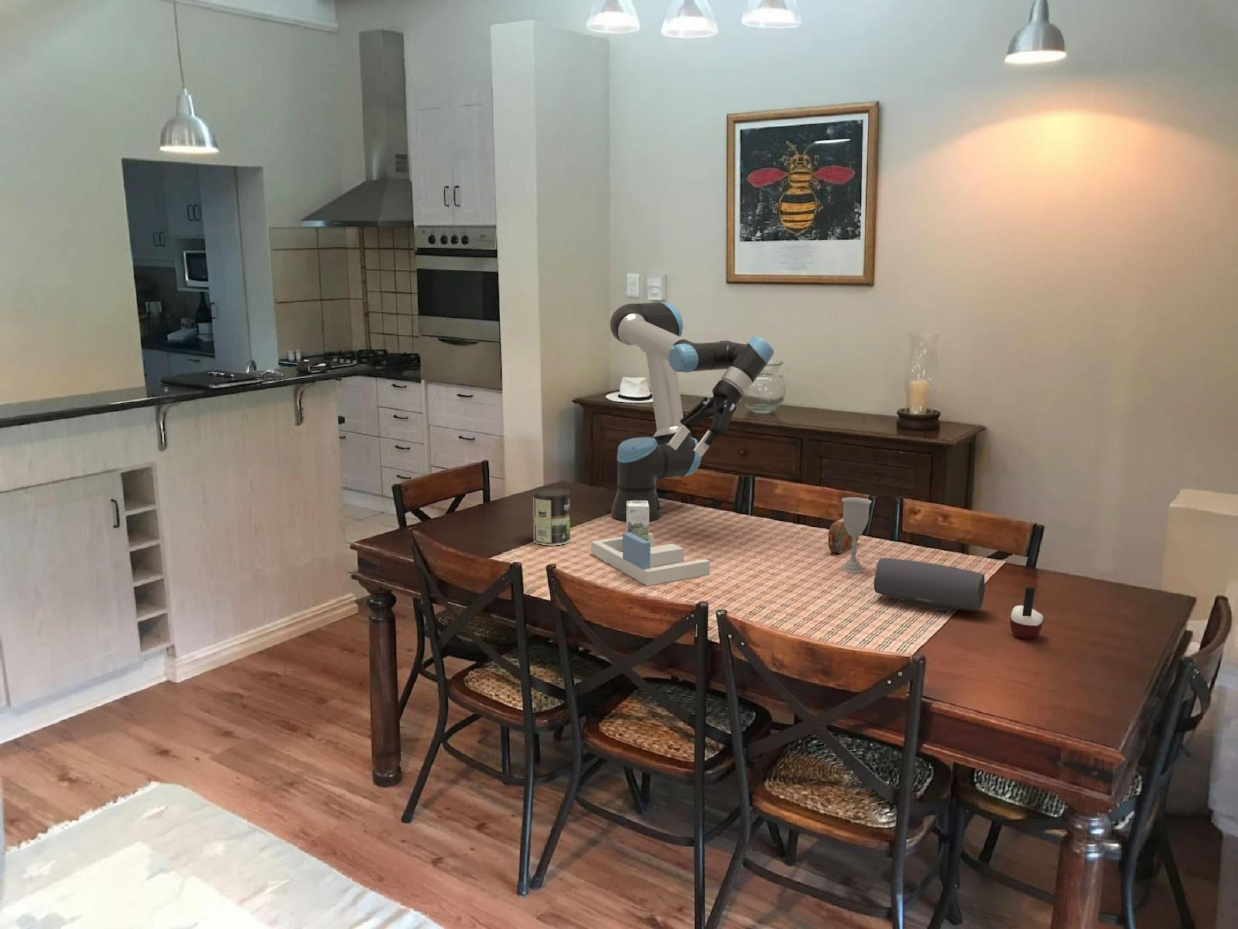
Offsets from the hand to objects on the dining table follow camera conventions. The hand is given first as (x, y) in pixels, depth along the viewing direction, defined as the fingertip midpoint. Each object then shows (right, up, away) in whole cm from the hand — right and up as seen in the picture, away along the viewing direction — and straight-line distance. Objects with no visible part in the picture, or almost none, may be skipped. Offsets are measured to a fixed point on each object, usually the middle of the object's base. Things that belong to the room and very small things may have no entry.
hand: (684, 450), depth 260 cm
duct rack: (-10, -29, -7) cm, 32 cm away
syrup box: (-12, -28, 0) cm, 31 cm away
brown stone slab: (+43, -27, +7) cm, 51 cm away
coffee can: (-36, -25, +13) cm, 46 cm away
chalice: (+42, -31, -11) cm, 53 cm away
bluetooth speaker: (+53, -36, -36) cm, 73 cm away
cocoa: (+67, -40, -54) cm, 95 cm away
